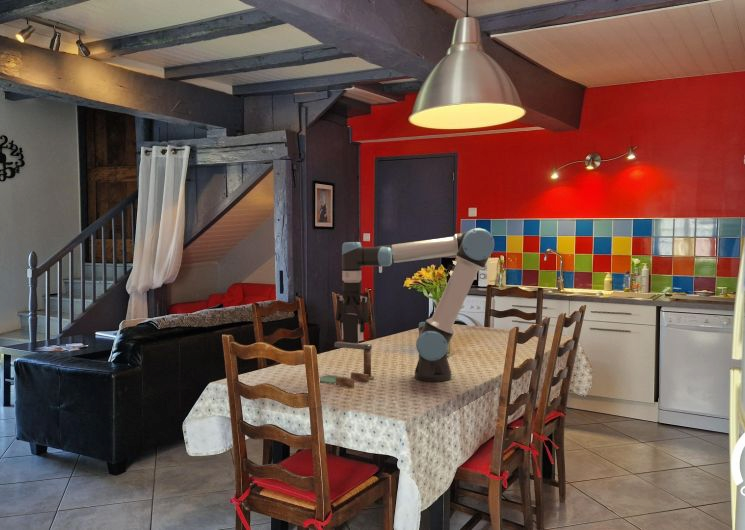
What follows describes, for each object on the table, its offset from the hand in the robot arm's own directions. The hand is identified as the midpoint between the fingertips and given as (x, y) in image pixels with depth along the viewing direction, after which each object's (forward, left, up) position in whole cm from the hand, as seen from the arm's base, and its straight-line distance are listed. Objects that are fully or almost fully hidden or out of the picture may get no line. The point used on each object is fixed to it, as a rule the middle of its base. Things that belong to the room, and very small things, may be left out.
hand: (352, 339), depth 251 cm
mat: (+11, 0, -18) cm, 21 cm away
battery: (0, 0, -1) cm, 1 cm away
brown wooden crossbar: (+7, -10, -6) cm, 13 cm away
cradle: (0, -4, -18) cm, 18 cm away
